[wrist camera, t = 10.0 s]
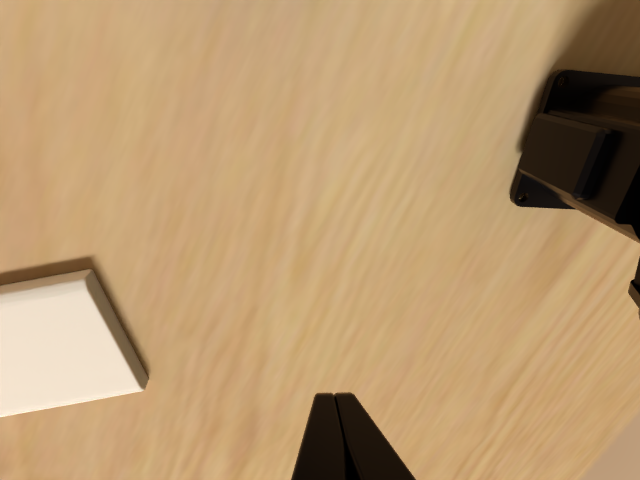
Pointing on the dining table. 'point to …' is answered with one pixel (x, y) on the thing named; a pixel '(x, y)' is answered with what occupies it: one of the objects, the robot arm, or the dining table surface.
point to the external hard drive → (62, 345)
